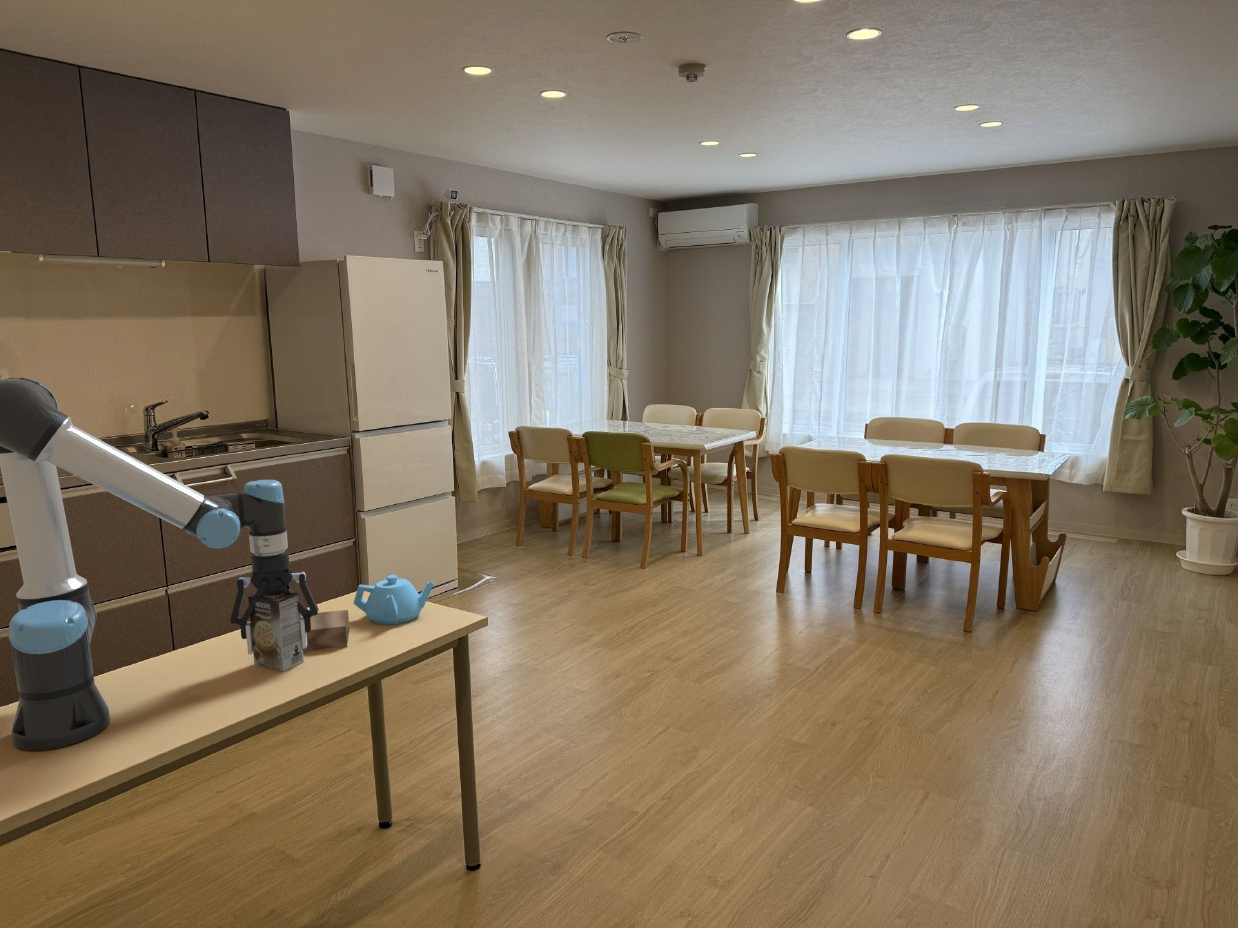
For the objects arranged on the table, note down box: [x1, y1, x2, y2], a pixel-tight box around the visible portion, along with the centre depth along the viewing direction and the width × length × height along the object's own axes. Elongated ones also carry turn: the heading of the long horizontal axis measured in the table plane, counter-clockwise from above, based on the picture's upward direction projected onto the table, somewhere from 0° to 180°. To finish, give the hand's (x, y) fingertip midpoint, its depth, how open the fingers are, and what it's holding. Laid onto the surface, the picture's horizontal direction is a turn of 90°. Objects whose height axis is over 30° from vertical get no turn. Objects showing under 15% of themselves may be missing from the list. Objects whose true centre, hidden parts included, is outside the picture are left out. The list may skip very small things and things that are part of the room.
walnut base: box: [300, 609, 350, 653], centre depth 199 cm, size 12×12×5 cm
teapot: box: [352, 573, 435, 626], centre depth 214 cm, size 15×15×11 cm
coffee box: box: [248, 591, 305, 672], centre depth 185 cm, size 9×6×16 cm
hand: (278, 649), depth 185 cm, fingers closed on coffee box, 10 cm apart
